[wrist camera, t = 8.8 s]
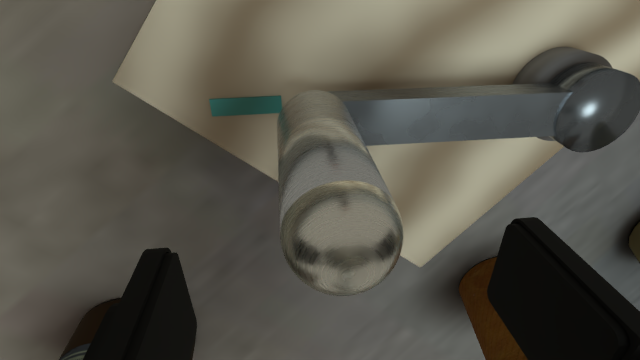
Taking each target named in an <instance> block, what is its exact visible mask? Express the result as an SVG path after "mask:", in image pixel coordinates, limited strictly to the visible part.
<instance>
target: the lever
mask: <svg viewBox="0 0 640 360" xmlns="http://www.w3.org/2000/svg"><path fill="white" fill-rule="evenodd" d="M639 111H640V81H639V80H638V79H637V77H635V76H634V75H632V74H629V73H626V72H623V71H620V70H617V69H614V68H611V67H607V66H604V65H601V64H598V63H593V62H585V63H580V64H576V65H573V66H571V67H569V68H567V69H565V70H564V71H562V72H561V73H559V74H558V75H557V76H556V77H554V78H553V79H552V80H551V81H550V82H549V83H539V84H512V85H486V86H459V87H432V88H406V89H379V90H353V91H326V92H325V91H321V90H309V91H305V92H302V93H299V94H297V95H295V96H294V97H292V98H291V99H290V100H288V101H287V102H286V104H285V105H284V106H283V108H282V109H281V111H280V113H279V116H278V120H277V146H278V180H279V214H280V239H281V246H282V250H283V253H284V256H285V259H286V261H287V263H288V264H289V266H290V268H291V269H292V271H293V272H294V273H295V274H296V275H297V277H298V278H299V279H300V280H302V281H303V282H304V283H305V284H307V285H308V286H310V287H311V288H313V289H315V290H317V291H320V292H322V293H325V294H329V295H335V296H350V295H355V294H359V293H362V292H365V291H367V290H369V289H371V288H373V287H375V286H376V285H378V284H379V283H380V282H382V281H383V280H384V279H385V278H386V277H387V276H388V275H389V273H390V272H391V271H392V270H393V268H394V266H395V265H396V263H397V261H398V258H399V256H400V253H401V249H402V245H403V224H402V219H401V216H400V213H399V210H398V208H397V206H396V204H395V202H394V200H393V198H392V196H391V194H390V192H389V190H388V188H387V186H386V184H385V182H384V180H383V178H382V176H381V174H380V172H379V170H378V168H377V166H376V164H375V162H374V161H373V159H372V157H371V155H370V153H369V151H368V149H367V147H366V146H374V145H392V144H411V143H430V142H449V141H468V140H487V139H506V138H525V137H544V136H549V137H550V138H552V139H553V140H555V141H557V142H558V143H560V144H561V145H563V146H565V147H566V148H568V149H570V150H572V151H575V152H589V151H594V150H597V149H600V148H602V147H604V146H606V145H608V144H610V143H611V142H613V141H614V140H616V139H617V138H618V137H619V136H621V135H622V134H623V133H624V132H625V131H626V130H627V129H628V128H629V126H630V125H631V124H632V123H633V121H634V120H635V118H636V116H637V115H638V113H639Z"/></svg>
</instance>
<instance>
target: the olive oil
mask: <svg viewBox="0 0 640 360" xmlns="http://www.w3.org/2000/svg"><path fill="white" fill-rule="evenodd" d="M120 300H121V299H118V300H113V301H109V302H106V303H103V304H101V305H99V306H97V307H95V308H93V309H92V310H90V311H89V312H88V313H87V314H86V315H85V316H84V318H83V319H82V321H81V322H80V324H79V326H78V327H77V329H76V331H75V333H74V334H73V336H72V338H71V340H70V341H69V343H68V345H67V347H66V348H65V350H64V352H63V354H62V355H61V357H60V359H59V360H83V358H84V356H85V354H86V352H87V350H88V348H89V346H90V344H91V342H92V340H93V338H94V336H95V334H96V332H97V330H98V328H99V326H100V324H101V322H102V320H103V318H104V316H105V314H106V312H107V310H108V309H109V307H110V306H111V305H112V304H114V303H119V302H120ZM194 346H195V340H194V344H193V349H192V354H191V358H190V360H192V357H193V351H194Z"/></svg>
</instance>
